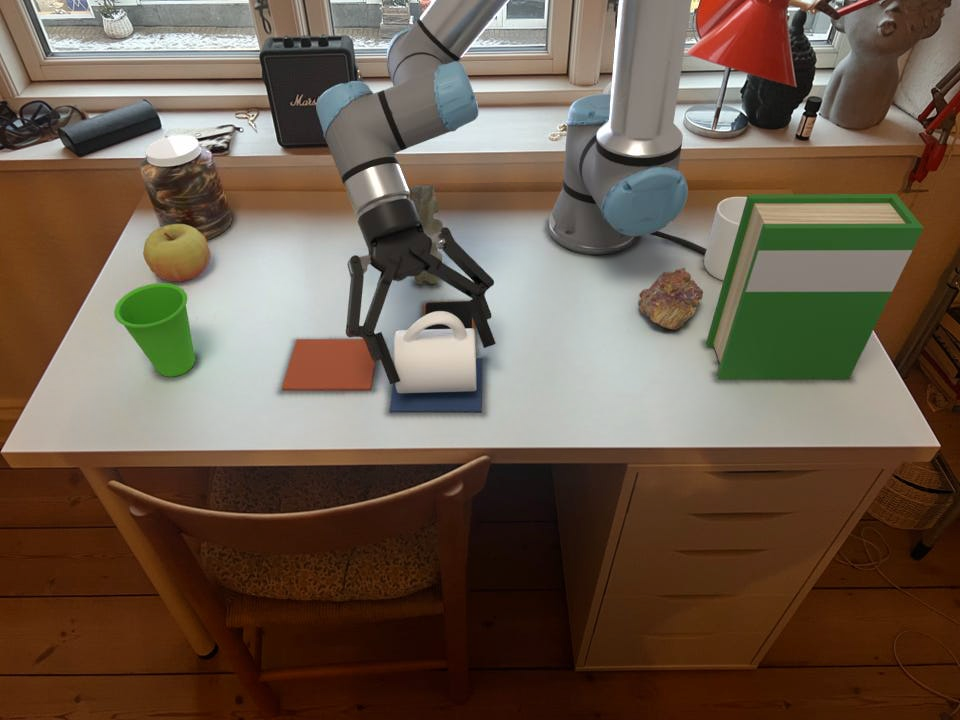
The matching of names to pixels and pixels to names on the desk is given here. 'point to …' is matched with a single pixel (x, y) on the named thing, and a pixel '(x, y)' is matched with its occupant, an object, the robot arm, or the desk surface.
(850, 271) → the hardback book
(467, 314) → the smartphone
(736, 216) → the mug
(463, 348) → the mug
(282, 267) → the desk surface
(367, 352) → the terracotta mat
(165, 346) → the cup
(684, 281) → the mineral specimen
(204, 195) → the jar
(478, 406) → the blue mat
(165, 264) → the apple
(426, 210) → the sculpture
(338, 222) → the desk surface
